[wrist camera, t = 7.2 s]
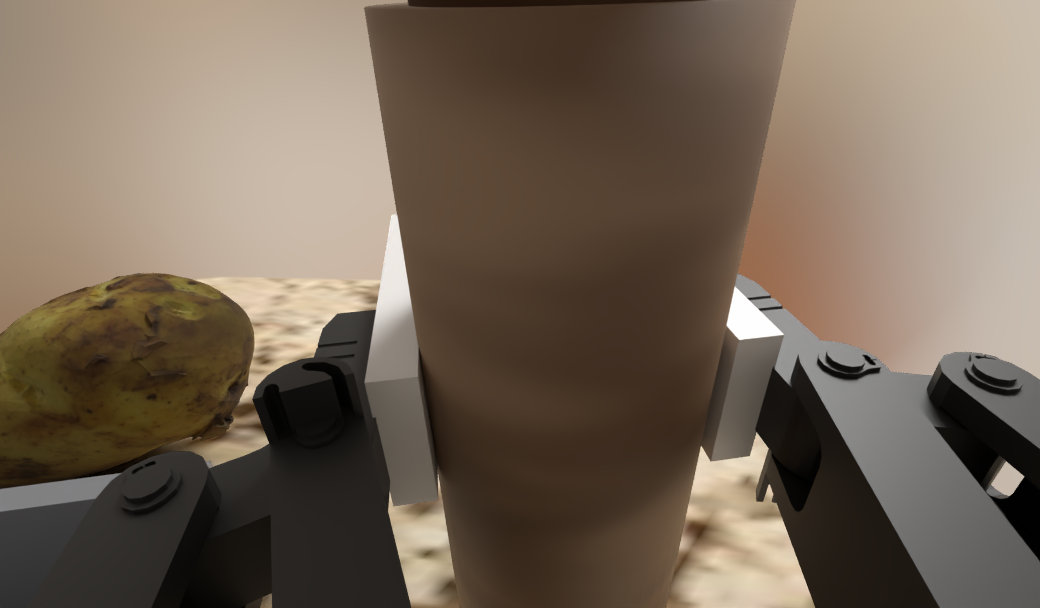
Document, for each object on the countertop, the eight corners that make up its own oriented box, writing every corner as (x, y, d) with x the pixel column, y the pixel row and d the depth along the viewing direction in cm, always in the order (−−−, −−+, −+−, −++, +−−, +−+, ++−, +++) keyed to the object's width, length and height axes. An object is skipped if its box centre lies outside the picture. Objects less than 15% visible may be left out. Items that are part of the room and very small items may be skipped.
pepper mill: (471, 753, 11) (204, -664, 3) (459, 545, 16) (344, -257, 7) (690, 710, 12) (1098, -576, 3) (621, 520, 16) (711, -251, 7)
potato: (78, 382, 26) (-13, 232, 22) (316, 407, 24) (266, 246, 20) (-126, 529, 19) (-316, 350, 15) (184, 585, 17) (62, 392, 13)
